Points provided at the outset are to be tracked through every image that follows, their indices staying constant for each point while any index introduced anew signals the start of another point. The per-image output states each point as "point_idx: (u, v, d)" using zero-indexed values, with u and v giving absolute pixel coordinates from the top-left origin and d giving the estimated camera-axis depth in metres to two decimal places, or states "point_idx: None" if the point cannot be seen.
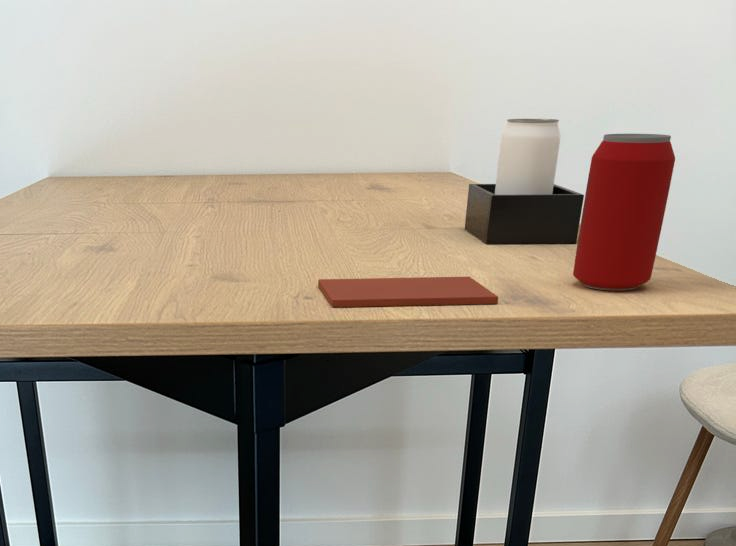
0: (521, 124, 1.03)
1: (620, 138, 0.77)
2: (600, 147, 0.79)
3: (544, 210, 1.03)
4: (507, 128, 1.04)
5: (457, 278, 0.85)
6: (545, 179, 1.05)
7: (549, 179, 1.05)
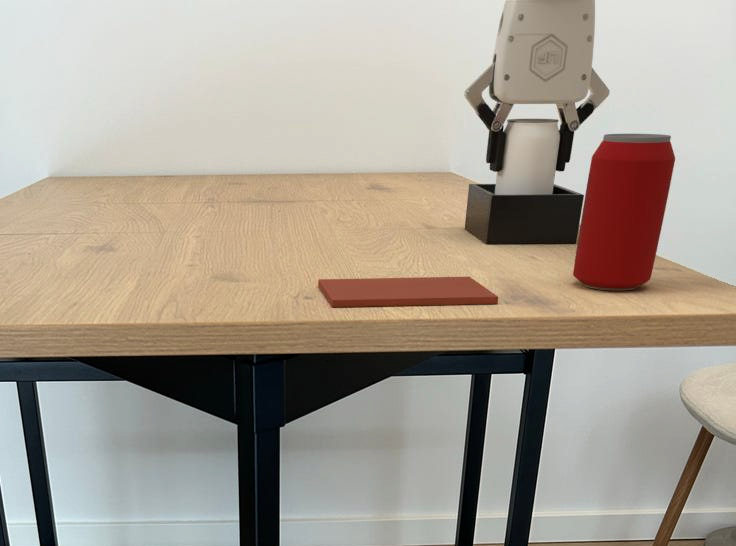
0: (521, 124, 1.03)
1: (620, 138, 0.77)
2: (600, 147, 0.79)
3: (544, 210, 1.03)
4: (507, 128, 1.04)
5: (457, 278, 0.85)
6: (545, 179, 1.05)
7: (549, 179, 1.05)
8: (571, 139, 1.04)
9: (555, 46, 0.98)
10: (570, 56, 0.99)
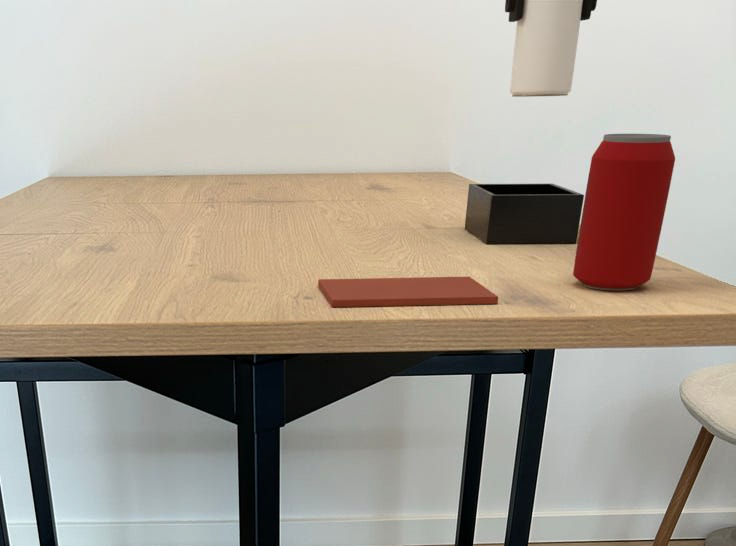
0: None
1: (620, 138, 0.77)
2: (600, 147, 0.79)
3: (544, 210, 1.03)
4: None
5: (457, 278, 0.85)
6: (570, 26, 0.97)
7: (574, 27, 0.97)
8: None
9: None
10: None
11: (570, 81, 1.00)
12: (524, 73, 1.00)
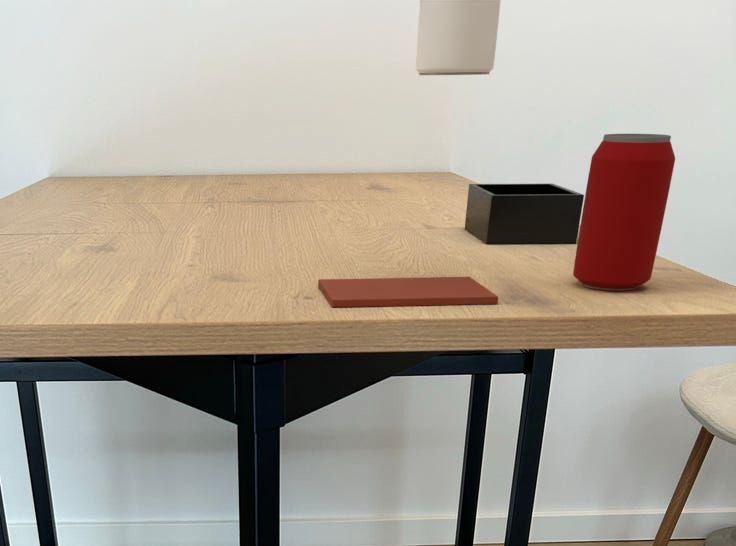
0: None
1: (620, 138, 0.77)
2: (600, 147, 0.79)
3: (544, 210, 1.03)
4: None
5: (457, 278, 0.85)
6: None
7: None
8: None
9: None
10: None
11: (491, 55, 0.77)
12: (430, 45, 0.76)
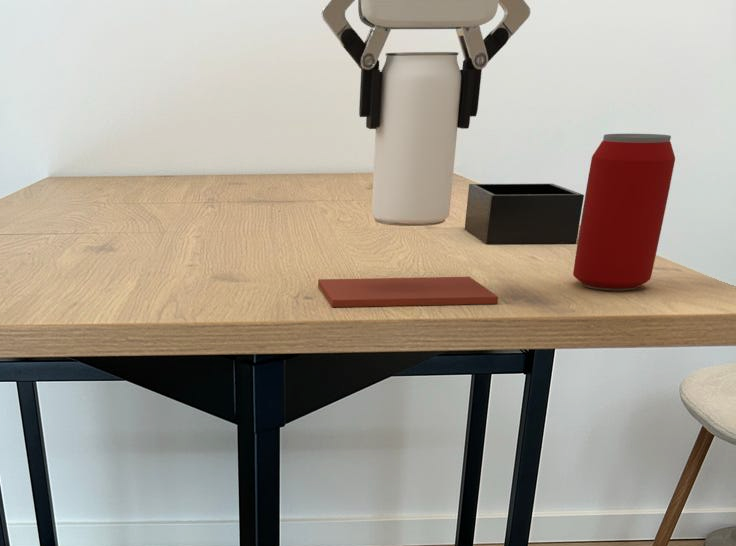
0: (403, 58, 0.71)
1: (620, 138, 0.77)
2: (600, 147, 0.79)
3: (544, 210, 1.03)
4: (385, 65, 0.72)
5: (457, 278, 0.85)
6: (441, 139, 0.73)
7: (447, 139, 0.73)
8: (478, 81, 0.73)
9: None
10: None
11: (446, 206, 0.76)
12: (385, 196, 0.76)
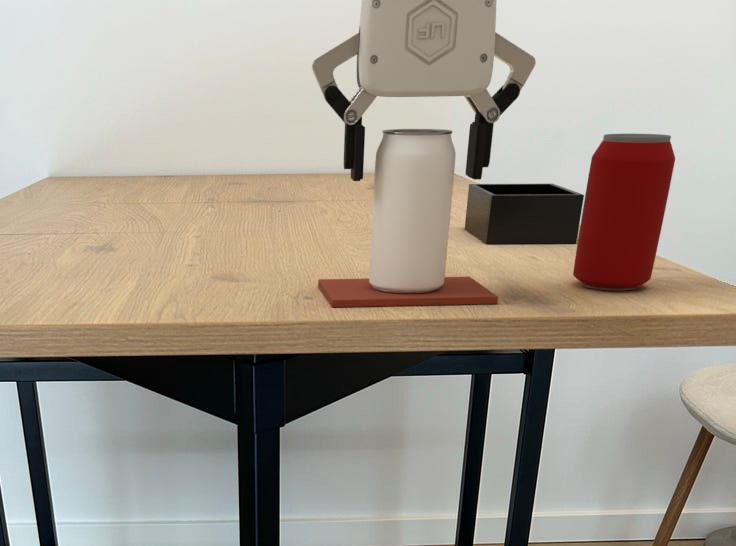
0: (399, 137, 0.74)
1: (620, 138, 0.77)
2: (600, 147, 0.79)
3: (544, 210, 1.03)
4: (382, 142, 0.75)
5: (457, 278, 0.85)
6: (436, 213, 0.76)
7: (442, 213, 0.76)
8: (490, 134, 0.74)
9: (440, 14, 0.69)
10: (462, 28, 0.69)
11: (441, 274, 0.79)
12: (382, 266, 0.78)
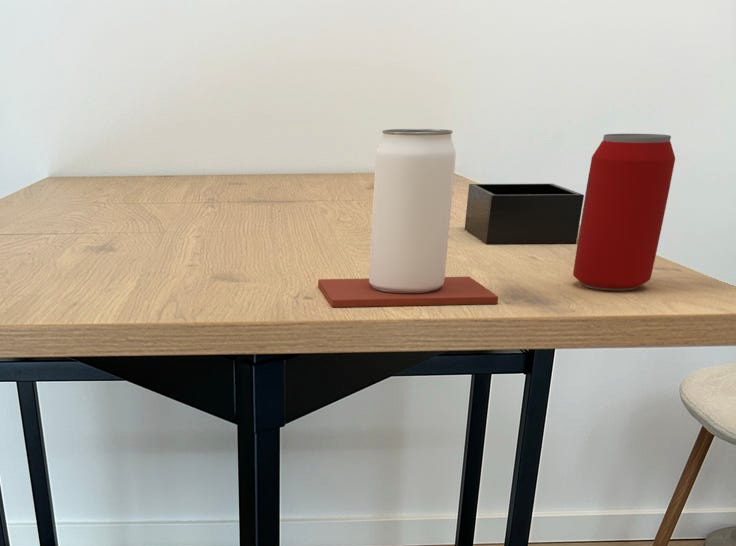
0: (399, 137, 0.74)
1: (620, 138, 0.77)
2: (600, 147, 0.79)
3: (544, 210, 1.03)
4: (382, 142, 0.75)
5: (457, 278, 0.85)
6: (436, 213, 0.76)
7: (442, 213, 0.76)
8: None
9: None
10: None
11: (441, 274, 0.79)
12: (382, 265, 0.78)
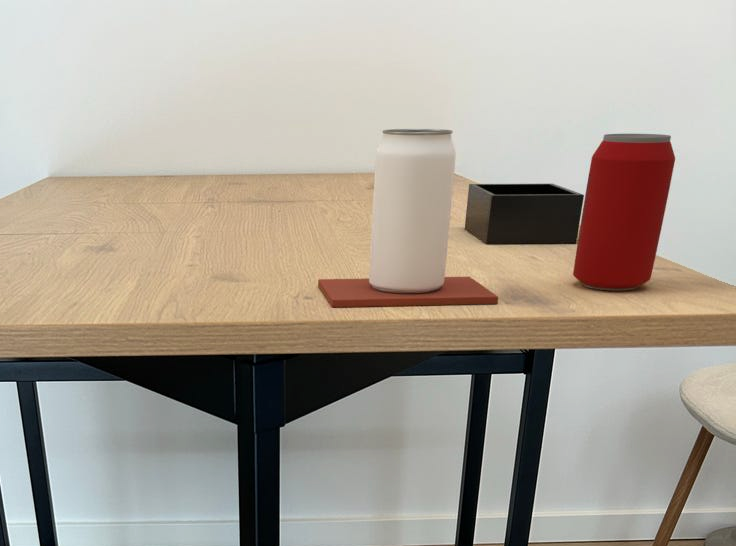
0: (399, 137, 0.74)
1: (620, 138, 0.77)
2: (600, 147, 0.79)
3: (544, 210, 1.03)
4: (382, 142, 0.75)
5: (457, 278, 0.85)
6: (436, 213, 0.76)
7: (442, 213, 0.76)
8: None
9: None
10: None
11: (441, 274, 0.79)
12: (382, 265, 0.78)
